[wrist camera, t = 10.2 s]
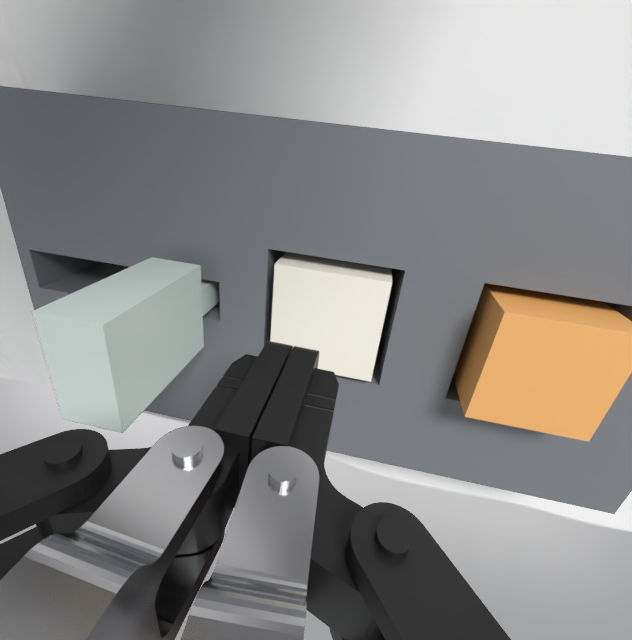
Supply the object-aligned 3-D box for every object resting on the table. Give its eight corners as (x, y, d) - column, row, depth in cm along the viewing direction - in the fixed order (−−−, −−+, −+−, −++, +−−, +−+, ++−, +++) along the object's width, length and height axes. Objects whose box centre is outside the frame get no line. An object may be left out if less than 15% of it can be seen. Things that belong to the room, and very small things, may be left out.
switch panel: (61, 97, 16) (-29, 82, 13) (734, 174, 13) (862, 182, 10) (108, 353, 23) (56, 390, 19) (572, 447, 19) (614, 513, 16)
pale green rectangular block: (204, 233, 18) (31, 311, 9) (242, 239, 17) (102, 325, 9) (206, 299, 19) (61, 418, 11) (241, 305, 19) (122, 433, 10)
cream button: (298, 239, 17) (274, 263, 13) (391, 254, 16) (392, 282, 13) (291, 321, 19) (269, 361, 15) (374, 336, 18) (371, 381, 15)
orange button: (477, 273, 15) (505, 311, 11) (587, 290, 14) (653, 336, 11) (448, 360, 17) (464, 416, 13) (545, 378, 16) (588, 441, 13)
